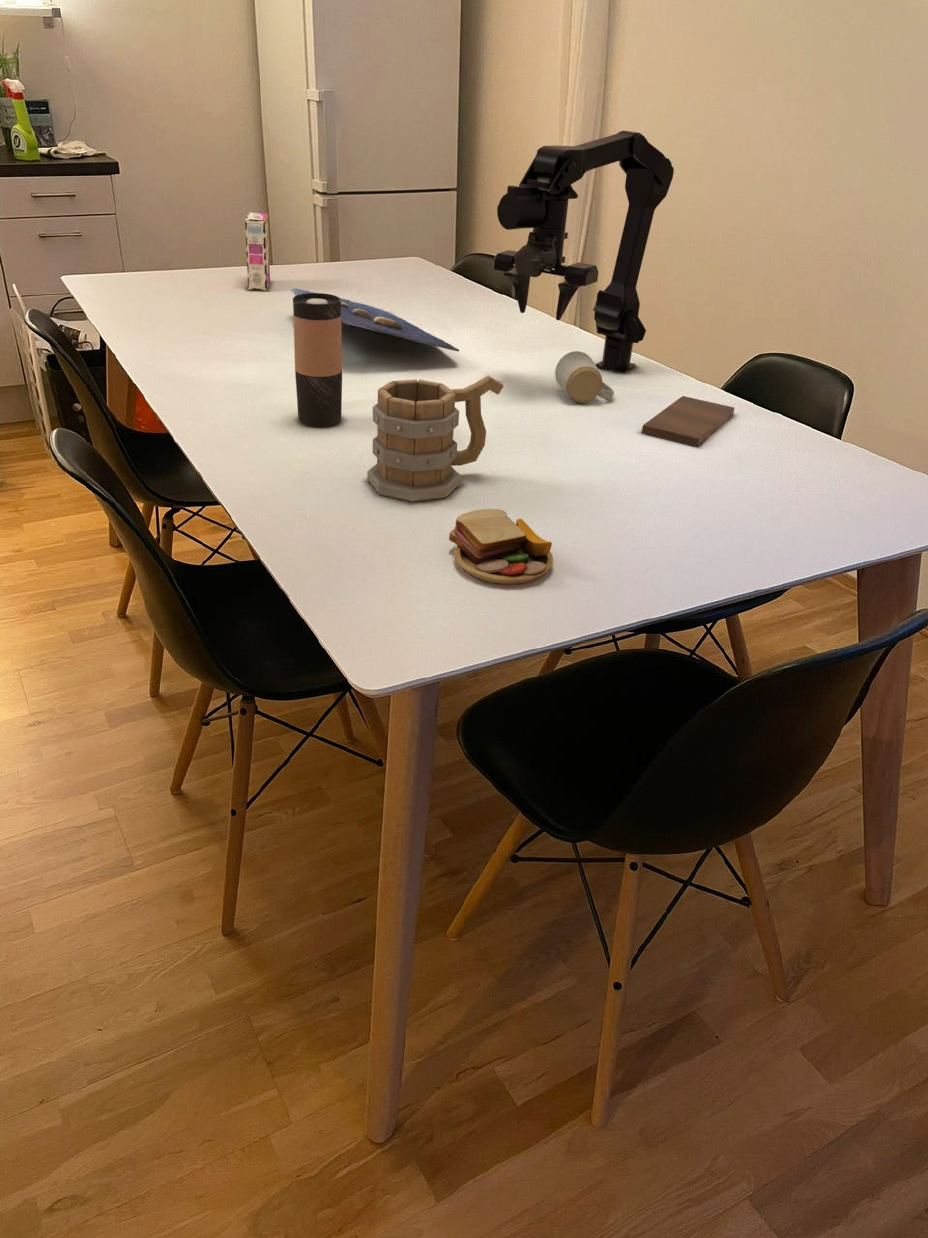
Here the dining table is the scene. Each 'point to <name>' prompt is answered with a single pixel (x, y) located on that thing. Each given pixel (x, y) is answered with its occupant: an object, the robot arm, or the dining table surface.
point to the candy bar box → (257, 251)
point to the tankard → (424, 437)
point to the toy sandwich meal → (499, 548)
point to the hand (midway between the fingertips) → (540, 316)
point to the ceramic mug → (581, 378)
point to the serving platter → (383, 322)
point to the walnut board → (688, 421)
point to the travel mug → (318, 358)
